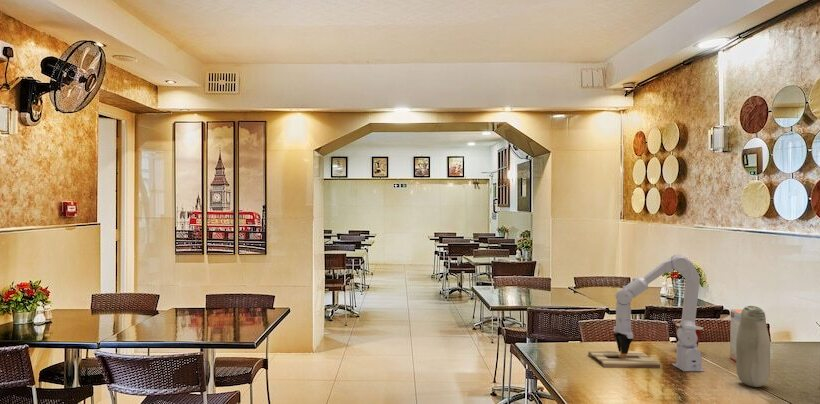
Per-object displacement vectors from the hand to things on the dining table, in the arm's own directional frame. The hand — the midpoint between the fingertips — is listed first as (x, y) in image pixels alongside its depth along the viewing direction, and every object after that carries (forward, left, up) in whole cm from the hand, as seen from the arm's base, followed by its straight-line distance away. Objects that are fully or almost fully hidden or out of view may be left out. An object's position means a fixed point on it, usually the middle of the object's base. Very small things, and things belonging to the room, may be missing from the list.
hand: (623, 352), depth 225 cm
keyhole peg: (0, 0, -4) cm, 4 cm away
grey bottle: (-30, -34, -4) cm, 45 cm away
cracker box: (0, -50, -4) cm, 50 cm away
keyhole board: (0, 0, -4) cm, 4 cm away
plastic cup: (+16, -36, -4) cm, 39 cm away
